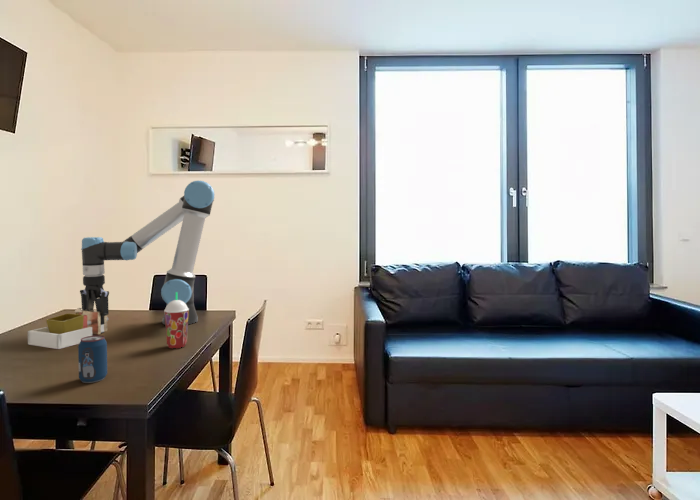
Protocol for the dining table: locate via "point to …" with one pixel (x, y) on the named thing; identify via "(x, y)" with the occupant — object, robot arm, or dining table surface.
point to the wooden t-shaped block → (92, 320)
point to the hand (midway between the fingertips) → (95, 331)
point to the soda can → (92, 359)
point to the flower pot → (65, 323)
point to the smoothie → (176, 323)
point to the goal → (57, 337)
